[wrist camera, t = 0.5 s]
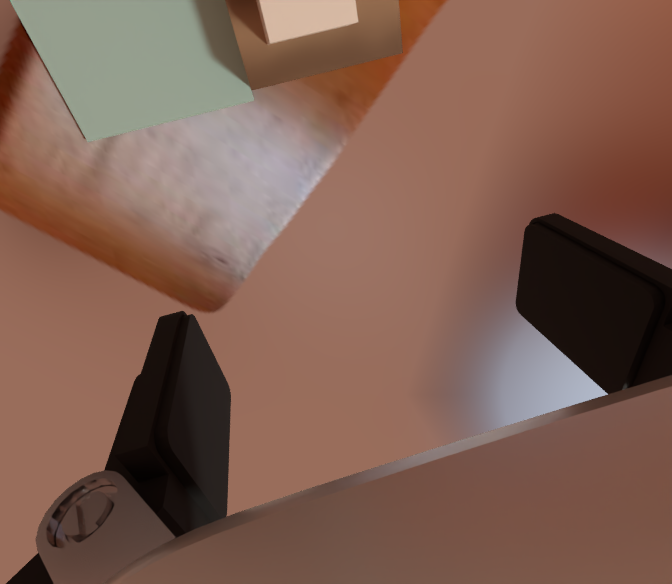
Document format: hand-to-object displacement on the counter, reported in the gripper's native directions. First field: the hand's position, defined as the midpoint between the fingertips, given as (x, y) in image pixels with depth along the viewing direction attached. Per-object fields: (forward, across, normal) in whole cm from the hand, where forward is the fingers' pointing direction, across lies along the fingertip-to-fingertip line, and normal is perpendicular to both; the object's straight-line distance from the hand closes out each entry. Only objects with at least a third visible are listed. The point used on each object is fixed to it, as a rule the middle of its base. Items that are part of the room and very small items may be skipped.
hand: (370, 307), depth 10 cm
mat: (+28, +9, -11) cm, 31 cm away
